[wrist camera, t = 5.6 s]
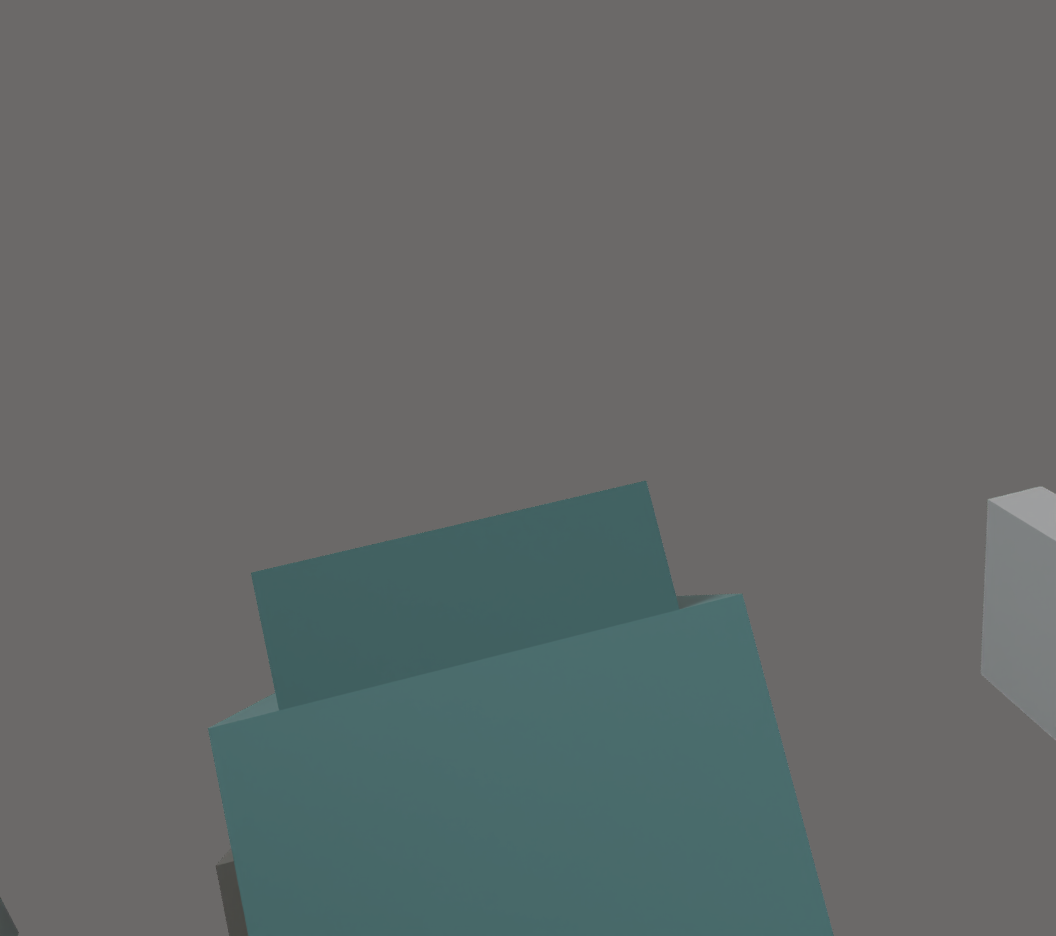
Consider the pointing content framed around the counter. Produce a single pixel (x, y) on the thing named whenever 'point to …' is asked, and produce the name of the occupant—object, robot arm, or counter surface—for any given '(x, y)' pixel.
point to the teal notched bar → (512, 743)
